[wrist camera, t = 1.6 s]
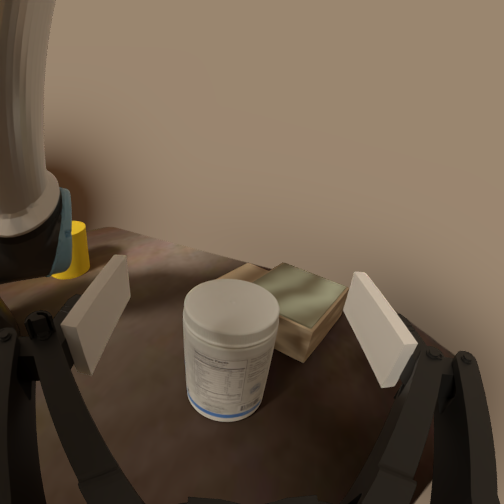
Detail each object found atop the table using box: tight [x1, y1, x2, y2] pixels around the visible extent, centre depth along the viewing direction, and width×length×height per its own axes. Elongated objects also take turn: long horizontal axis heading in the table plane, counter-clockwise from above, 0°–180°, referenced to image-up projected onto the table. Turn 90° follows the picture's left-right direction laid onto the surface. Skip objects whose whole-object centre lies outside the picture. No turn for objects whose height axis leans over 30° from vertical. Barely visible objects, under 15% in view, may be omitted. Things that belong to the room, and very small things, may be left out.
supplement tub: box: [183, 279, 280, 422], centre depth 31 cm, size 10×10×15 cm
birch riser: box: [216, 263, 349, 363], centre depth 51 cm, size 22×16×6 cm
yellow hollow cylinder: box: [52, 221, 90, 279], centre depth 55 cm, size 10×10×9 cm
